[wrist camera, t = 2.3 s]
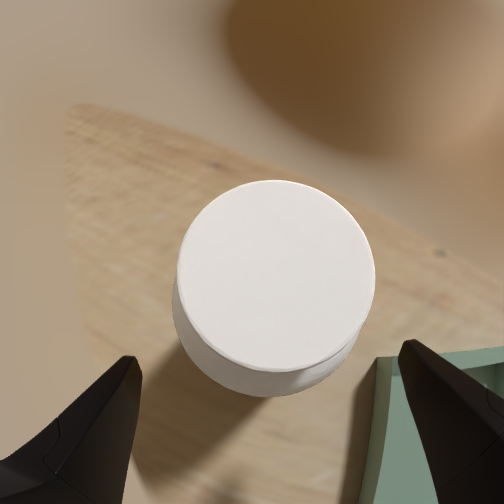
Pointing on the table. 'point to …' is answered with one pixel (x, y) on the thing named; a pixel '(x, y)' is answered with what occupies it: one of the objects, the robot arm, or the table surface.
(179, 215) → the table surface
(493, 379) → the tub
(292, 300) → the supplement bottle
